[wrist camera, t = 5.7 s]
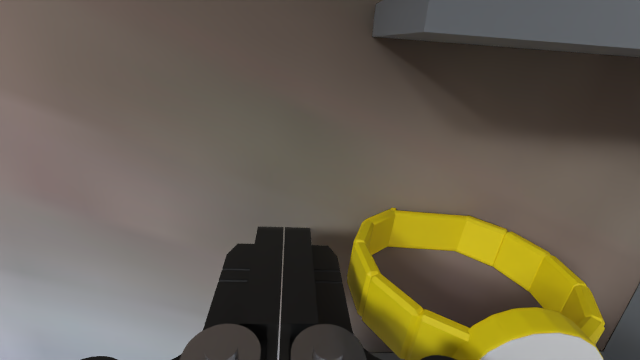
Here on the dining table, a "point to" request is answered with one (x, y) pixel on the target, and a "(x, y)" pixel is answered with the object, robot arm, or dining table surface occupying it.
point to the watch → (492, 332)
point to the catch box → (530, 33)
